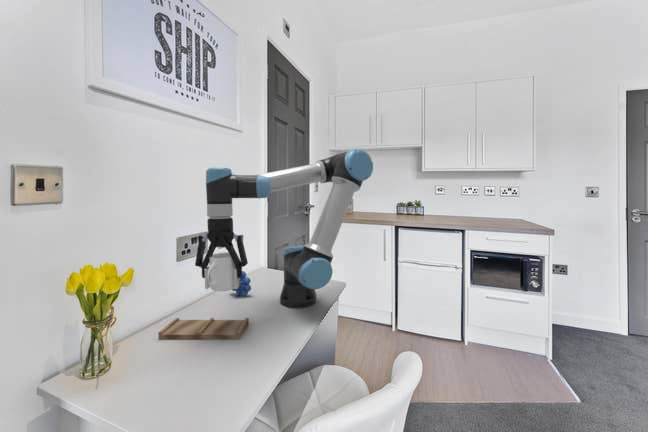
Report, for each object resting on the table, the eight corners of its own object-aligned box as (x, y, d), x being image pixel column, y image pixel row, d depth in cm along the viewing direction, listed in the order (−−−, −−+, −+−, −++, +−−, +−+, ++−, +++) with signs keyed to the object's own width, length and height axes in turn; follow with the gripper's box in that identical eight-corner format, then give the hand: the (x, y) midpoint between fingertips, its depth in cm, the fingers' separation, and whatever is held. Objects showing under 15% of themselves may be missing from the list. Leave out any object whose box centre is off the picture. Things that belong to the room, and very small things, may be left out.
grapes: (222, 297, 120) (221, 270, 119) (232, 292, 126) (231, 266, 125) (245, 300, 116) (244, 272, 115) (254, 295, 122) (253, 268, 121)
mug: (196, 293, 85) (195, 259, 84) (221, 282, 96) (221, 251, 95) (220, 297, 82) (219, 261, 81) (243, 284, 93) (242, 253, 93)
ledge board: (248, 324, 95) (248, 317, 95) (239, 339, 85) (239, 332, 85) (176, 324, 95) (176, 317, 95) (158, 339, 85) (158, 332, 85)
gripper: (257, 216, 91) (258, 283, 93) (192, 216, 91) (195, 283, 93) (250, 218, 83) (252, 291, 85) (180, 218, 83) (183, 291, 85)
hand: (222, 287), depth 89 cm, fingers closed on mug, 9 cm apart
